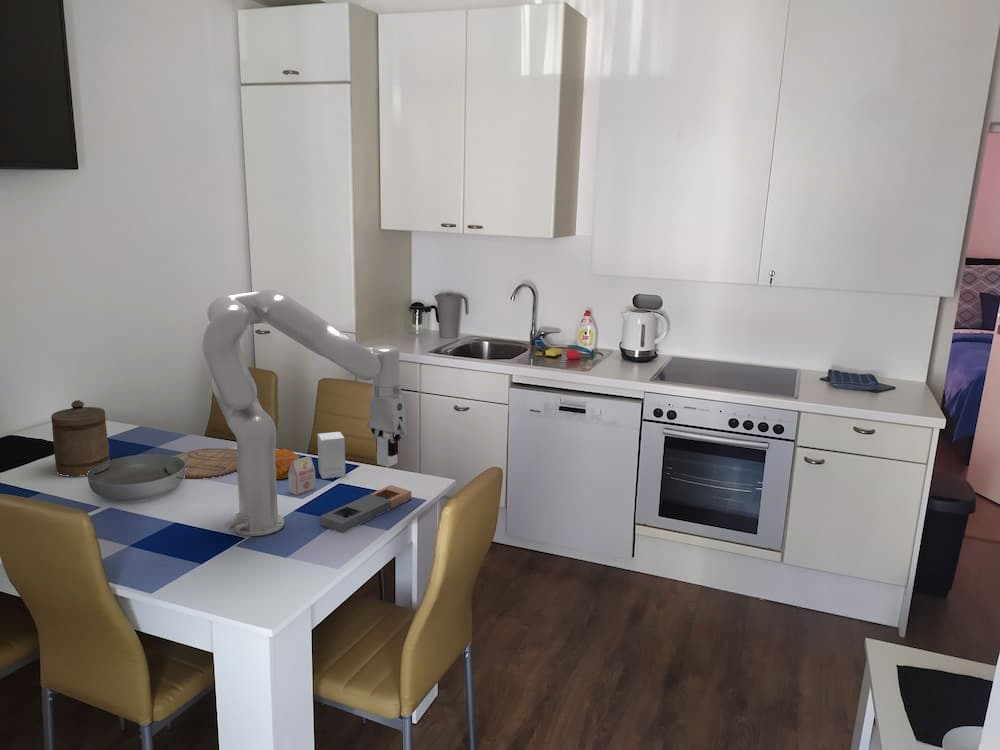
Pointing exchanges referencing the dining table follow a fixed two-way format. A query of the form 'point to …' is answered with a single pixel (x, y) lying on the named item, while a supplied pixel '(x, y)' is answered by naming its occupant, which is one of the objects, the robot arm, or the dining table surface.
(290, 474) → the white printed paper bag
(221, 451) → the trivet
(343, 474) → the supplement box
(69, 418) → the wooden container
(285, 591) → the dining table surface
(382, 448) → the steel peg
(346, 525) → the rail
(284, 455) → the croissant
